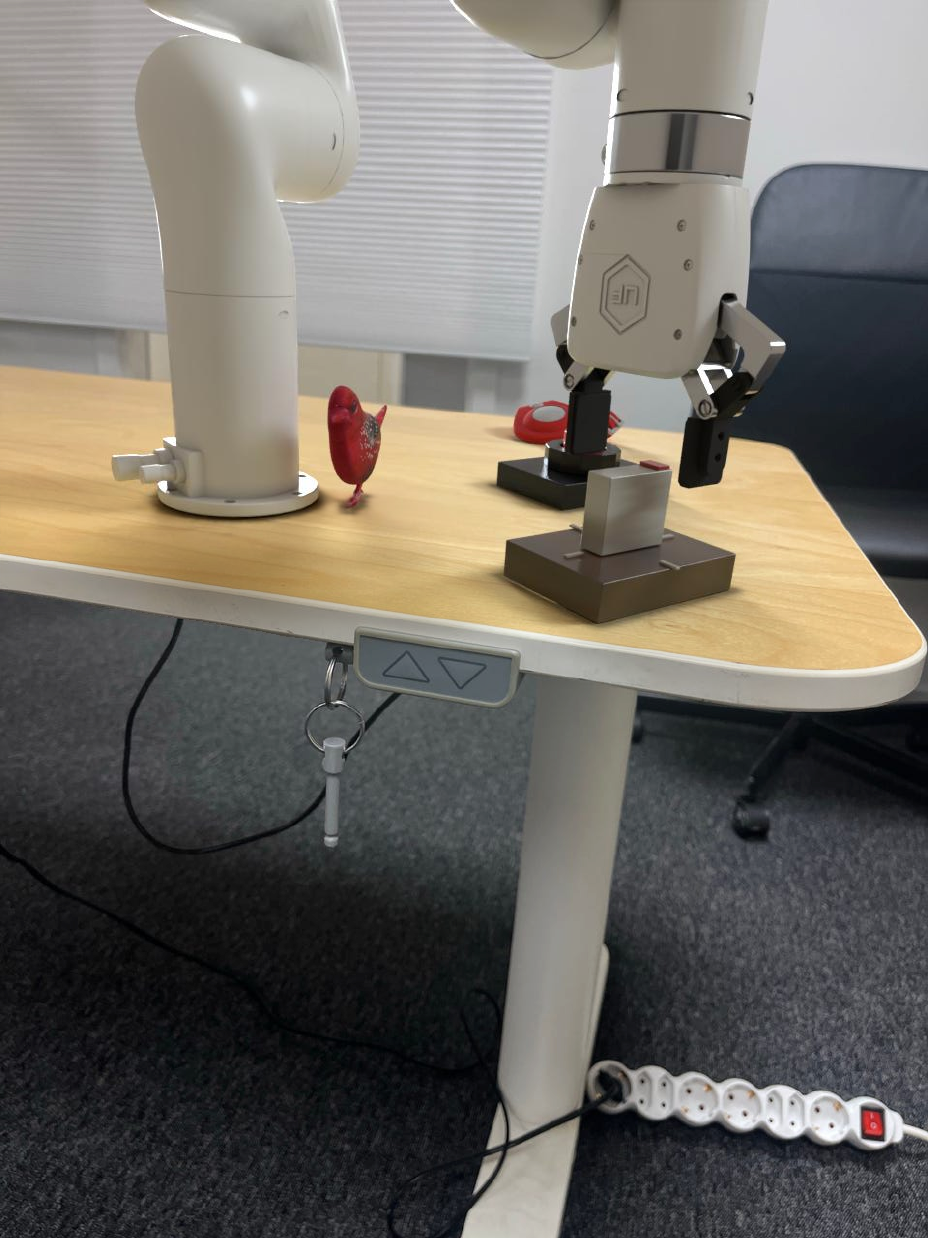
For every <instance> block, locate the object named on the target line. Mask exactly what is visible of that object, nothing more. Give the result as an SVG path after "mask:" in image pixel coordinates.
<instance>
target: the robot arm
mask: <svg viewBox="0 0 928 1238" xmlns="http://www.w3.org/2000/svg"><path fill="white" fill-rule="evenodd" d="M139 1H140V2H141V3H142V4H143V5H144V6H145V8H147V9H148V10H150V11H151V12H153V13H154V14H156V15H158V16H160V17H162V18H164V19H166V20H168V21H170V22H174V23H175V24H179V25H182V26H185V27H188V28H191V29H193V30H197V31H200V32H202V33H206V34H200V33H199V34H198V33H197V34H195V33H194V34H183V35H179V36H176V37H173V38H170V39H168V40H167V41H164V42H163V43H161V44H160V45H158V46H157V47H156V48H155V49H154V50H153V51H152V52H151V53H150V54H149V56H148V57H147V59H146V60H145V61H144V63H143V65H142V67H141V69H140V72H139V75H138V79H137V81H136V86H135V94H134V114H135V115H134V116H135V123H136V130H137V135H138V139H139V144H140V149H141V152H142V156H143V160H144V163H145V167H146V171H147V175H148V179H149V183H150V187H151V192H152V197H153V203H154V208H155V213H156V222H157V229H158V236H159V248H160V257H161V258H160V259H161V270H162V271H161V272H162V283H163V290H164V303H165V317H166V319H165V320H166V330H167V331H166V332H167V333H166V334H167V345H168V358H169V360H168V361H169V375H170V387H171V388H170V389H171V402H172V414H173V415H172V416H173V431H174V437H163V438H162V440H163V441H162V444H163V447H161V448H154V449H153V450H152V453H149V454H140V455H139V454H122V455H112V457H111V463H110V465H111V471H112V475H113V478H114V480H115V481H116V482H117V483H118V482H127V481H138V480H139V481H140V483H141V484H142V485H148V484H157V486H156V487H157V495H158V496H157V498H158V499H159V501H160V502H162V503H163V504H164V505H165V506H167V507H169V508H172V509H175V510H177V511H181V512H184V513H189V514H194V515H195V514H196V515H201V516H210V517H226V518H251V517H263V516H273V515H280V514H284V513H285V514H286V513H290V512H291V513H292V512H294V511H298V510H302V509H304V508H306V507H308V506H311V505H312V504H314V502H316V501H317V500H318V498H319V496H320V493H319V491H320V490H319V489H320V487H319V486H320V485H319V483H318V480H317V479H316V478H314V477H313V476H312V475H309V474H307V473H305V472H302V471H300V433H299V431H300V430H299V424H300V423H299V373H298V372H299V370H298V308H297V307H298V306H297V300H298V299H297V281H296V280H297V275H296V263H295V254H294V250H293V244H292V241H291V237H290V234H289V230H288V227H287V225H286V222H285V219H284V216H283V213H282V210H281V208H280V207H281V206H280V205H279V202H287V203H294V204H295V203H297V204H315V203H319V202H320V203H321V202H324V201H327V200H329V199H331V198H333V197H335V196H336V195H337V194H339V193H340V192H341V191H342V190H343V189H344V188H345V187H346V186H347V185H348V183H349V181H350V180H351V178H352V177H353V175H354V172H355V169H356V167H357V165H358V164H357V163H358V159H359V156H360V155H359V154H360V148H361V120H360V113H359V105H358V100H357V94H356V90H355V89H356V88H355V84H354V79H353V73H352V69H351V63H350V58H349V57H350V56H349V53H348V52H349V51H348V47H347V43H346V42H347V41H346V37H345V32H344V31H345V30H344V27H343V22H342V16H341V11H340V5H339V0H139ZM449 1H450V2H451V4H452V5H453V6H454V7H455V9H456V10H457V11H458V12H459V13H460V14H461V15H462V16H463V17H464V18H465V19H466V20H467V21H468V22H469V23H471V24H472V25H473V26H474V27H476V28H477V29H478V30H479V31H482V32H484V33H485V34H487V35H489V36H490V37H493V38H495V39H497V40H499V41H501V42H504V43H506V44H508V45H510V46H512V47H514V48H517V49H519V50H521V52H523V53H525V54H527V55H529V56H531V57H532V58H535V59H537V60H539V61H541V62H543V63H545V64H547V65H549V66H552V67H554V68H556V69H557V68H558V69H562V70H570V71H572V70H573V71H579V70H580V71H581V70H588V69H594V68H598V67H603V66H607V65H612V64H613V75H612V77H613V78H612V88H611V89H612V90H611V99H610V110H609V111H610V112H609V121H608V131H607V142H606V144H605V145H604V146H603V148H602V151H601V162H602V165H603V166H604V177H603V185H602V186H596V187H594V189H593V192H592V196H591V198H590V202H589V204H588V209H587V212H586V216H585V221H584V224H583V228H582V232H581V237H580V243H579V248H578V252H577V258H576V264H575V269H574V277H573V284H572V290H571V298H570V303H569V304H567V305H566V306H564V307H563V308H561V309H560V310H558V311H557V312H555V313H554V314H553V315H552V316H551V317H550V327H551V331H552V335H553V339H554V344H555V347H556V350H555V358H556V361H557V363H558V365H559V366H560V369H561V371H562V373H563V378H562V384H563V387H564V389H565V390H566V391H568V392H569V395H568V405H569V406H568V418H567V430H566V442H565V452H566V453H567V454H571V455H580V454H588V453H596V452H602V451H603V450H605V449H606V445H607V443H608V439H607V436H608V426H609V416H610V410H611V405H612V390H610V389H603V388H605V386H606V385H607V383H608V382H609V381H610V379H612V377H613V376H614V375H615V373H616V372H618V373H624V374H629V375H635V376H639V377H640V376H641V377H646V378H654V379H660V380H661V379H662V380H674V379H675V380H676V379H679V378H680V379H681V381H682V383H683V386H684V388H685V390H686V393H687V395H688V397H689V399H690V402H691V404H692V406H693V408H694V410H695V413H696V415H695V416H687V418H686V420H685V424H684V432H683V438H682V446H681V453H680V461H679V468H678V473H677V474H678V475H677V483H678V485H679V487H681V488H684V489H689V490H690V489H696V488H702V487H708V486H715V485H718V484H720V483H721V481H722V479H723V474H724V469H725V467H726V464H727V456H728V450H729V444H730V440H731V439H730V437H731V433H732V425H733V419H734V417H739V416H741V415H742V414H744V411H745V409H746V406H747V405H748V404H750V403H751V402H752V401H753V400H754V399H755V398H757V396H759V395H760V394H761V393H762V392H763V391H764V390H765V388H766V385H767V379H768V378H770V376H771V375H772V373H773V371H774V370H775V368H776V367H777V365H778V364H779V362H780V361H781V359H782V357H783V356H784V354H785V353H786V349H787V346H786V342H785V340H784V339H783V338H782V337H780V336H779V335H778V334H777V333H776V332H774V331H773V330H772V329H771V328H770V327H768V325H766V324H765V323H763V321H762V320H760V319H759V318H758V317H757V316H755V315H754V314H753V313H752V312H751V311H749V310H748V309H747V301H748V290H749V278H750V265H751V264H750V263H751V262H750V260H751V236H752V235H751V203H750V201H751V200H750V189H749V188H747V187H743V182H744V181H743V179H744V174H745V166H746V158H747V153H748V152H747V151H748V144H749V138H750V131H751V121H752V117H753V111H754V103H755V97H756V91H757V83H758V76H759V70H760V63H761V57H762V56H761V55H762V50H763V42H764V35H765V29H766V21H767V15H768V7H769V0H449ZM740 348H741V349H742V351H743V359H742V361H741V362H740V367H739V369H738V370H737V371H736V372H734V373H732V369H734V367H735V365H736V363H737V360H738V357H739V353H740Z"/></svg>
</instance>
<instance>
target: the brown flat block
mask: <svg viewBox="0 0 928 1238" xmlns="http://www.w3.org/2000/svg"><path fill="white" fill-rule="evenodd" d="M568 526H569V528H567V529H561V530H556V531H550V532H544V533H539V534H538V533H537V534H532V535H527V536H522V537H521V536H520V537H515V538H510V539H506V540H505V552H504V563H503V564H504V566H503V576H504V577H506V578H507V579H510V580H512V581H513V582H515V583H517V584H519V585H521V586H523V587H525V588H527V589H528V590H529V589H530V590H531V591H533V592H535V593H537V594H538V595H541V596H543V597H544V598H547V599H549V600H551V601H553V602H554V603H557V604H558V605H560V606H563V607H564V608H566V609H569V610H571V611H573V612H574V613H576V614H578V615H580V616H582V617H584V618H586V619H588V620H590V621H592V622H594V623H596V624H601V623H605V622H608V621H613V620H617V619H621V618H623V617H628V616H631V615H636V614H639V613H643V612H648V611H651V610H655V609H659V608H663V607H668V606H670V605H675V604H678V603H681V602H685V601H689V600H694V599H697V598H701V597H705V596H708V595H712V594H717V593H720V592H725V591H728V590H730V589H731V584H732V579H733V573H734V568H735V562H736V558H737V557H736V556H737V553H735V552H733V551H729V550H727V549H724V548H721V547H718V546H715V545H713V544H711V543H707V542H705V541H702V540H700V539H697V538H694V537H691V536H689V535H685V534H684V533H683V534H682V533H681V532H678V531H674V530H672V529H669V528H666V527H664V531H663V538H662V543H661V544H659V545H654V546H649V547H644V548H639V549H634V550H629V551H624V552H619V553H614V554H610V555H605V556H600V555H598V554H595V553H593V552H591V551H588V550H586V549H583V548H581V547H580V545H581V536H582V527H583V526H580V525H577V524H575V523H571V524H569V525H568Z"/></svg>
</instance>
